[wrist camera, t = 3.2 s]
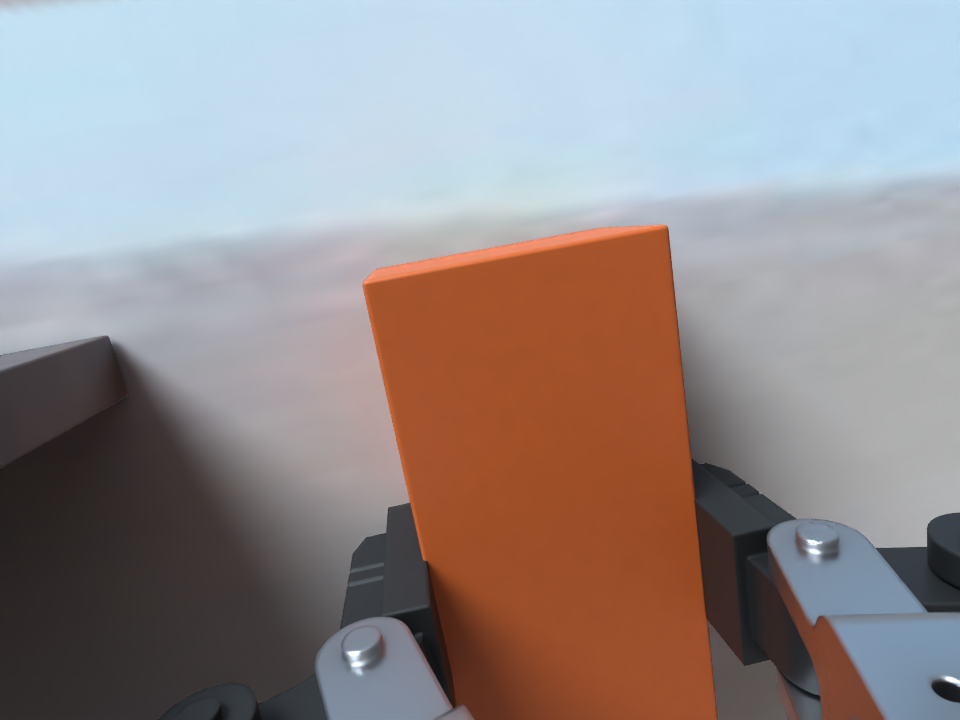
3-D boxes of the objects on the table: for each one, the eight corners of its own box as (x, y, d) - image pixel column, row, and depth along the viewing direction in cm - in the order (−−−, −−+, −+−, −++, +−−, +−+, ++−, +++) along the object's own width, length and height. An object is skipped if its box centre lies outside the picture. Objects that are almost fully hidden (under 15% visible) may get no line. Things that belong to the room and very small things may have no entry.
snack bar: (373, 269, 11) (360, 280, 8) (602, 226, 11) (669, 223, 8) (475, 744, 13) (493, 884, 11) (661, 697, 14) (729, 819, 11)
